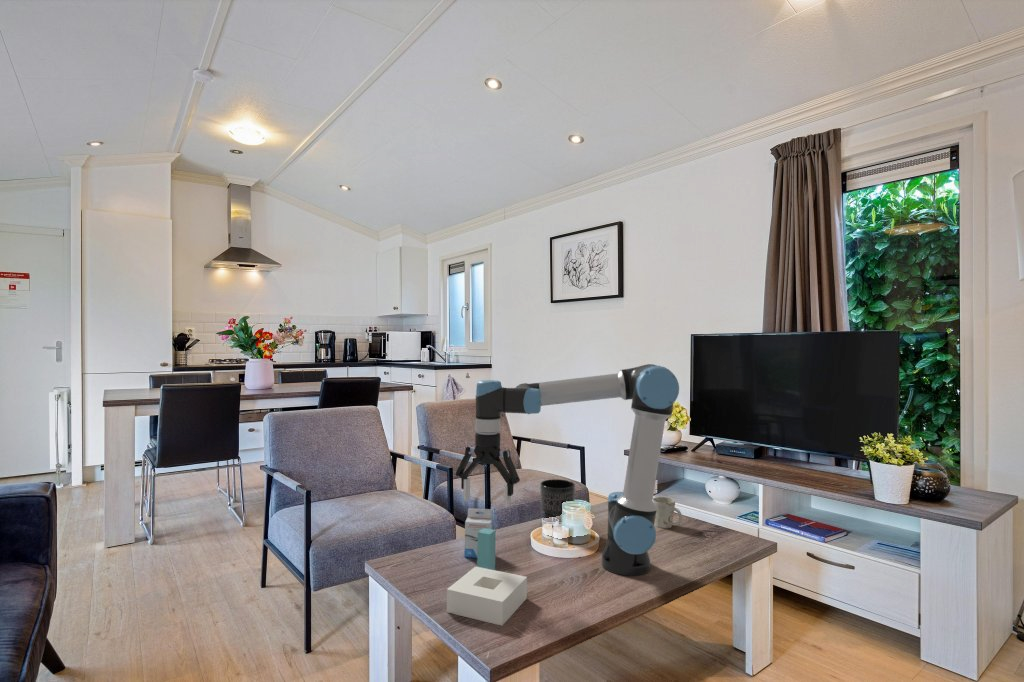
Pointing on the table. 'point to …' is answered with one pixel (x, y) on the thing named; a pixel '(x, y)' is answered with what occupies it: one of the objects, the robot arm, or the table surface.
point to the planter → (555, 496)
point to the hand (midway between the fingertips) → (486, 503)
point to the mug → (665, 512)
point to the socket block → (487, 595)
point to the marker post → (486, 548)
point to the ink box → (475, 529)
